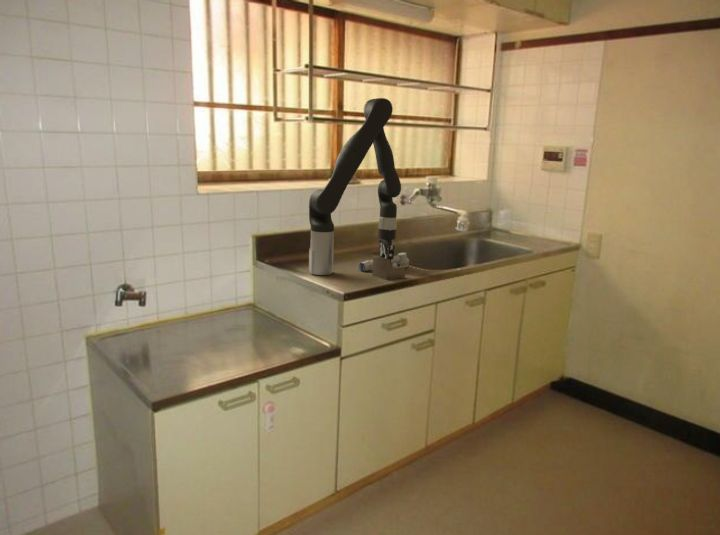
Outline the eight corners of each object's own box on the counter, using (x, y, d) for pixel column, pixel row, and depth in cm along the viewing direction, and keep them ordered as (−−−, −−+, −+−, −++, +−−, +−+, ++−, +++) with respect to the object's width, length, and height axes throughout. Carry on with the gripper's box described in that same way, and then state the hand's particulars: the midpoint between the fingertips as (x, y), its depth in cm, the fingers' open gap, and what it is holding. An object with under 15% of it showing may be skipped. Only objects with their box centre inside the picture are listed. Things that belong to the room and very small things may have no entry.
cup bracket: (386, 280, 208) (387, 259, 207) (372, 274, 216) (373, 255, 214) (404, 277, 214) (405, 258, 212) (390, 272, 221) (391, 253, 219)
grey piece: (357, 261, 223) (403, 248, 236) (358, 276, 225) (404, 263, 238) (364, 263, 218) (411, 251, 232) (365, 279, 220) (412, 265, 234)
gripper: (374, 225, 231) (372, 263, 234) (384, 230, 217) (382, 270, 221) (390, 225, 233) (388, 262, 236) (401, 230, 219) (399, 270, 223)
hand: (385, 266), depth 229 cm, fingers closed on grey piece, 6 cm apart
